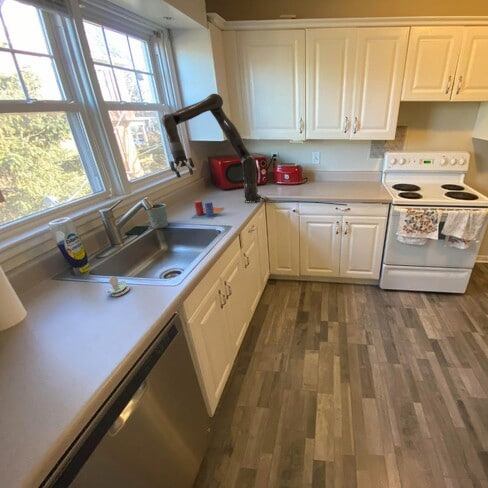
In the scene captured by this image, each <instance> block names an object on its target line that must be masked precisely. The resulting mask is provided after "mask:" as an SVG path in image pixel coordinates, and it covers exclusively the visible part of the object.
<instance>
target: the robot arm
mask: <svg viewBox="0 0 488 488" xmlns="http://www.w3.org/2000/svg"><path fill="white" fill-rule="evenodd" d="M223 105H224V100H223V98H222V95H220V94H218V93H211V94H209V95H208V96H207V97H206V98H204V99H202V100H201V101H198V102H196V103H193V104H190V105H187V106H184V107H182V108H180V109H177V110H176V111H174V112H171V113H166V114H164V115H163V116H162V117H161V119H160V123H161V125H162V126H163V128H164V129H165V134H166V139H167V142H168V145H169V149H170V153H171V156H172V158H173V160H171V161H169V166H170V169H171V171H172V172H173V173H174V172H175V174H176V178H178V179H181V173H180V169H181V168H183V167H186V168H187V169H188V172H189V174H190V176H193V175H194V171H193V168H195V164H194V161H193V159H192V157H188V158H187V155H186V150H185V149H184V145H183V143H182V141H181V137H180V134H179V132H178V131H179V129H178V125H180V124H182V123H186V122H187V121H190V120H192V119H194V118H197V117H199V116H200V115H202V114H204V113H207V112H210V113H211V115H212V116H213V117H214V119H215V120H216V122H217V124H218V125H219V128H220V129H221V131H222V133H223V134H224V136H225V138H226V139H227V141H228V143H229V144H230V145H231V147H232V148H233V149H234V151H235V152H236V154H237V155H238V158H239V160H240V163H241V166H242V179H243V192H244V202H245V203H247V204H254V203H257V202H259V201H260V200H263V201H264V202H265V203H268V204H269V203H270V204H273V203H274V204H284V203H285V204H286V203H288V204H290V203H292V204H294V203H301V204H302V203H304V204H305V203H306V204H307V203H308V204H325V205H336V206H348V204H346V203H335V202H324V201H305V200H303V201H301V200H300V201H297V200H295V201H294V200H293V201H292V200H291V201H288V200H287V201H286V200H283V201H275V200H274V201H268V200H266V199H265V198H264V197H262V196H261V194H259V190H258V189H259V188H258V186H257V165H256V163H257V162H256V160H255V158H254V157H253V156H252V154H251V153H250V152H249V150H248V149H247V147H246V145H245V142H244V140H243V138H242V136H241V133H240V132H239V130H238V128H237V126H236V125H235V124H234V123H233V122H232V120H231V119H230V118H229V116H227V114H226V113H225V111H224V109H223V108H222V107H223Z"/></svg>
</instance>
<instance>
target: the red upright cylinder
mask: <svg viewBox="0 0 488 488" xmlns="http://www.w3.org/2000/svg"><path fill="white" fill-rule="evenodd" d="M194 209H195V215H197V216H203V215H204V213H205V211H204V210H203V209H204V203H203V200H201V199H200V200H195V201H194Z"/></svg>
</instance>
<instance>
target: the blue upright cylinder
mask: <svg viewBox="0 0 488 488" xmlns="http://www.w3.org/2000/svg"><path fill="white" fill-rule="evenodd" d="M213 207H214V203H213V201H211V200H207V201H204V208H205V209H206V211H205V213H206V215H207V217H213V216H214V213H215V212H214V211H213ZM214 217H215V216H214ZM214 217H213V218H214Z"/></svg>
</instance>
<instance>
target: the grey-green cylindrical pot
mask: <svg viewBox="0 0 488 488" xmlns="http://www.w3.org/2000/svg"><path fill="white" fill-rule="evenodd" d="M152 204H153V208H152V209H151V210H149V211H147V210H146V212H147V215H148V219H149V221H150V226H151V227H152V228H153V229H163V228H166V227H167V226H169V221H168V213H167V212H168V211H167V205H166V203H152Z"/></svg>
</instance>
